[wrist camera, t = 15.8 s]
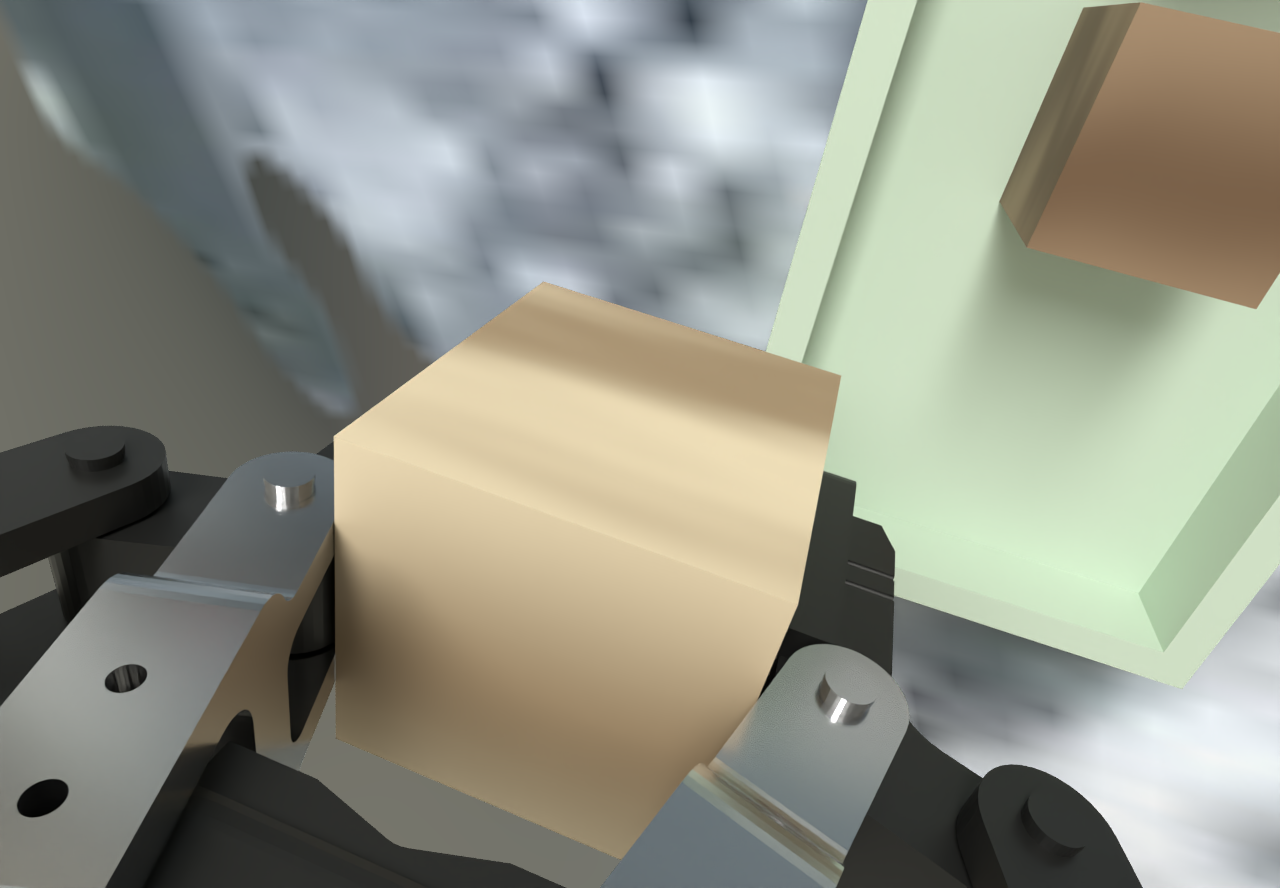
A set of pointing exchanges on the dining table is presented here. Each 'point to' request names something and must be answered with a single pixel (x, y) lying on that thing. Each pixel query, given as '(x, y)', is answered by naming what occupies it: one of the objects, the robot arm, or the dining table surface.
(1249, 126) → the walnut part
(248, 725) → the robot arm
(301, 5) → the dining table surface
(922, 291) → the cart
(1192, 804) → the dining table surface
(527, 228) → the dining table surface
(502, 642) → the beech part
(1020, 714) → the dining table surface
